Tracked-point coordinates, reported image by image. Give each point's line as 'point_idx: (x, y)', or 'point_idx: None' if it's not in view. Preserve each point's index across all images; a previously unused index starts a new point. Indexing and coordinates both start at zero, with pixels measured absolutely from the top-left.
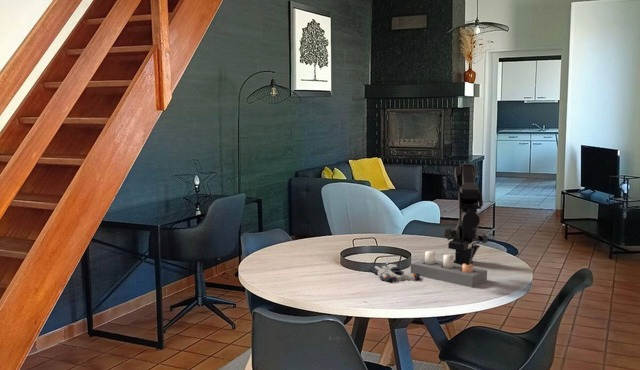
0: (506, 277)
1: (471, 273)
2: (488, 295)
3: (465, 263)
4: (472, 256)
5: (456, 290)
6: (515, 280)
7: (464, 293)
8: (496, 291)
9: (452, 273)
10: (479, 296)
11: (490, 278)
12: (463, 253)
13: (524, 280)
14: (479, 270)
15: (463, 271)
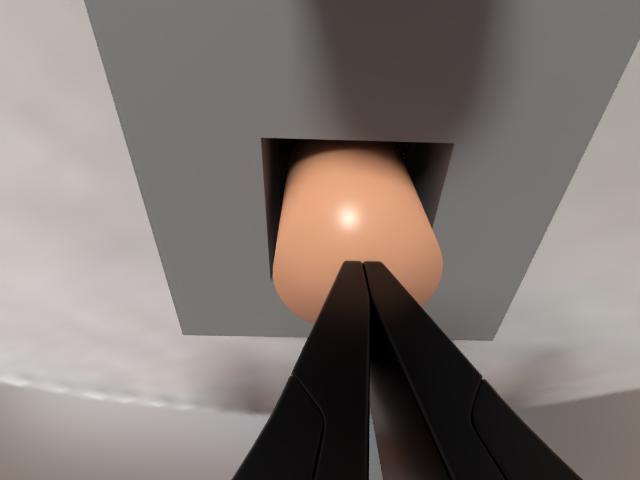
0: (618, 320)
1: (271, 294)
2: (155, 373)
3: (416, 223)
4: (382, 469)
5: (32, 212)
6: (554, 369)
7: (42, 281)
8: (258, 374)
9: (121, 100)
10: (92, 354)
11: (546, 259)
12: (258, 469)
13: (573, 393)
14: (441, 302)
15: (283, 200)
